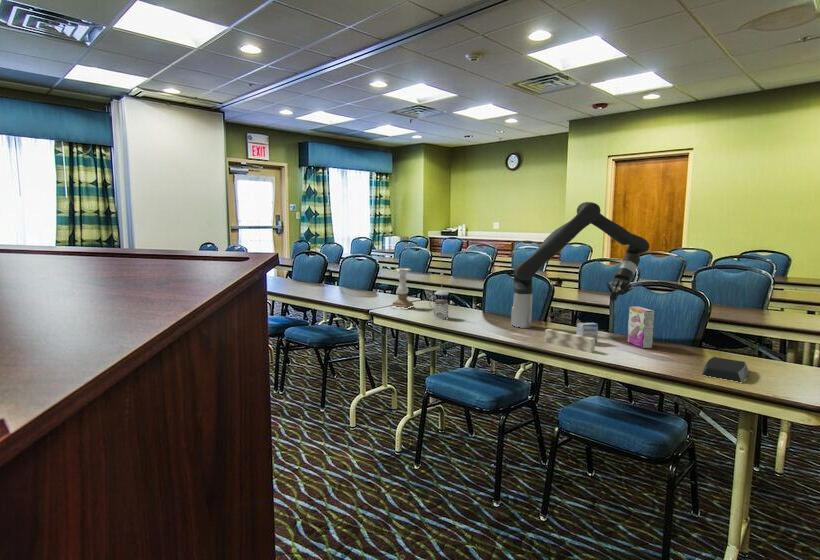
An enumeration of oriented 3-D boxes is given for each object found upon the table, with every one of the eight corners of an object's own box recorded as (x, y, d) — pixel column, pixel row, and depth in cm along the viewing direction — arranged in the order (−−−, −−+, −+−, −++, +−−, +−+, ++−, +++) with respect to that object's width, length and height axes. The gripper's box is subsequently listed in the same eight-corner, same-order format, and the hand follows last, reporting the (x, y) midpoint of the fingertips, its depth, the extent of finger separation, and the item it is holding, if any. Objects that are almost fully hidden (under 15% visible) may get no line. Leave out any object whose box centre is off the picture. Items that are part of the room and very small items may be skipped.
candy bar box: (626, 342, 212) (628, 306, 210) (636, 342, 213) (638, 306, 211) (642, 348, 201) (645, 310, 199) (652, 348, 202) (655, 310, 200)
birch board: (544, 341, 211) (545, 329, 210) (548, 340, 213) (548, 328, 212) (590, 352, 194) (591, 339, 193) (594, 351, 196) (595, 338, 195)
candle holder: (414, 306, 294) (414, 268, 291) (406, 309, 284) (407, 270, 282) (398, 305, 299) (398, 267, 296) (390, 308, 289) (390, 269, 286)
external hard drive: (750, 372, 173) (751, 361, 172) (744, 385, 158) (745, 373, 158) (708, 364, 181) (709, 354, 181) (699, 376, 166) (700, 365, 166)
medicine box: (581, 344, 208) (583, 324, 207) (575, 341, 212) (576, 322, 211) (597, 343, 210) (598, 324, 209) (590, 340, 214) (592, 322, 213)
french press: (450, 319, 256) (451, 274, 253) (429, 319, 256) (429, 273, 253) (449, 316, 266) (450, 272, 263) (428, 315, 266) (429, 271, 263)
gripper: (610, 266, 232) (596, 293, 226) (637, 268, 222) (623, 296, 216) (614, 276, 236) (601, 303, 230) (641, 278, 226) (628, 306, 220)
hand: (612, 299), depth 223 cm, fingers closed
